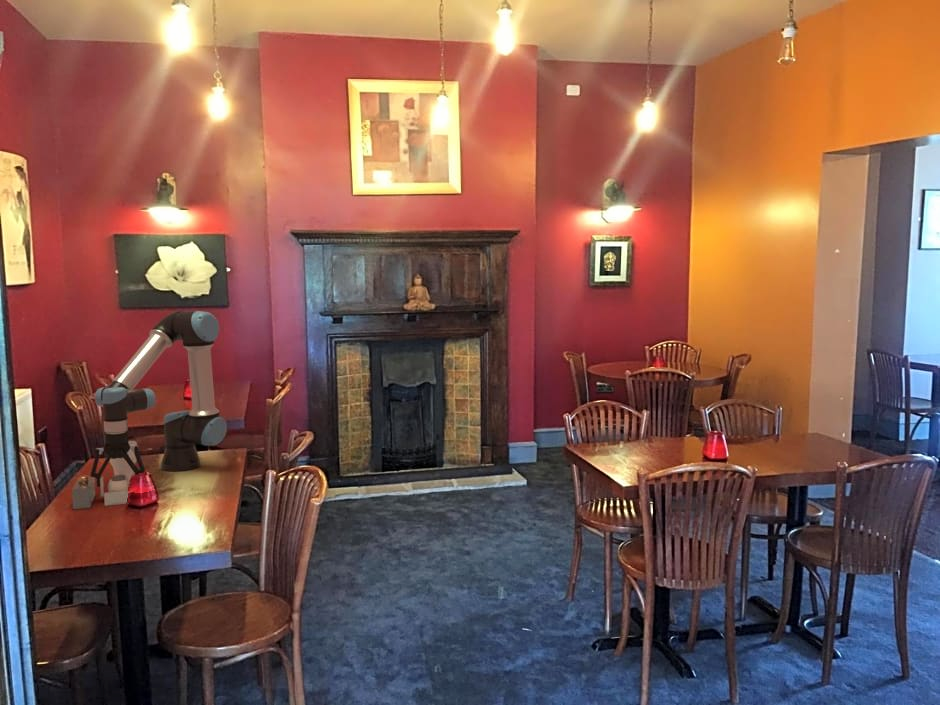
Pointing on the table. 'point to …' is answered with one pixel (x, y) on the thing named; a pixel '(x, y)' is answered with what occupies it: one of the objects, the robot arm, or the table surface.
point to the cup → (124, 463)
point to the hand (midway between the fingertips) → (119, 494)
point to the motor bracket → (86, 493)
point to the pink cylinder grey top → (118, 483)
